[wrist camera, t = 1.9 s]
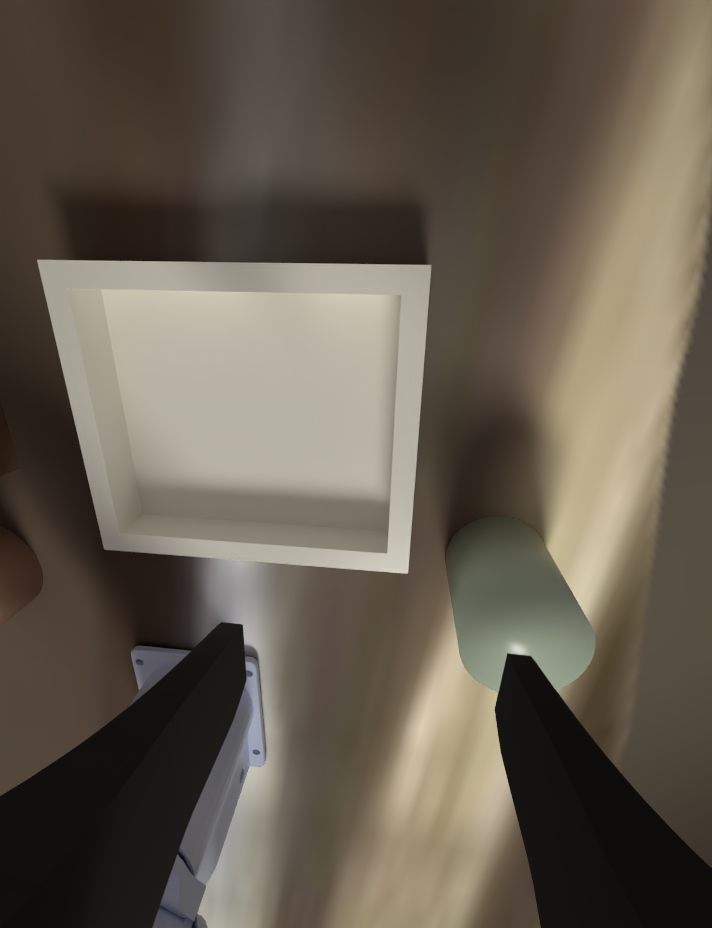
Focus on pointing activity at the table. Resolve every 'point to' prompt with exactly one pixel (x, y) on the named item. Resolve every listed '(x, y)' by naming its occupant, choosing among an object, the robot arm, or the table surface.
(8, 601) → the peach rounded cylinder
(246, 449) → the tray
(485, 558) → the sage rounded cylinder
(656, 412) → the table surface
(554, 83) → the table surface
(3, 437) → the walnut cube
